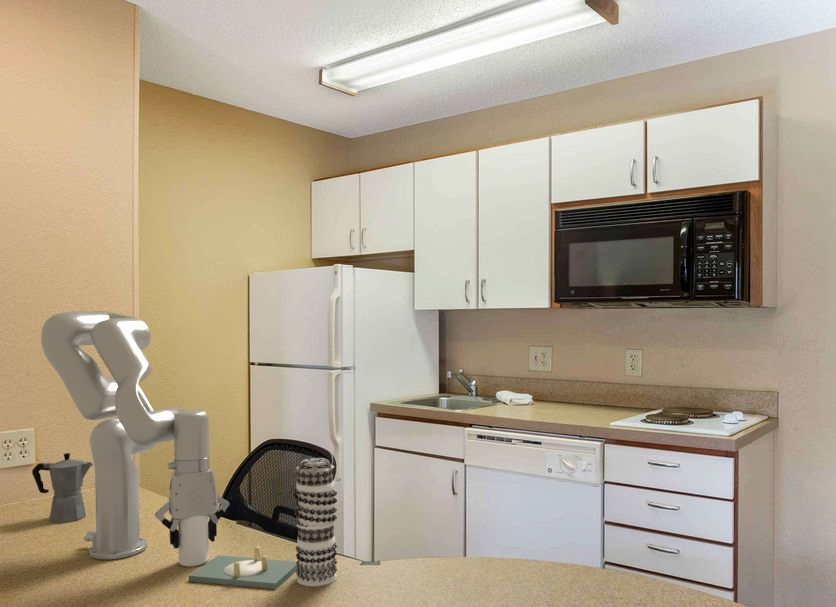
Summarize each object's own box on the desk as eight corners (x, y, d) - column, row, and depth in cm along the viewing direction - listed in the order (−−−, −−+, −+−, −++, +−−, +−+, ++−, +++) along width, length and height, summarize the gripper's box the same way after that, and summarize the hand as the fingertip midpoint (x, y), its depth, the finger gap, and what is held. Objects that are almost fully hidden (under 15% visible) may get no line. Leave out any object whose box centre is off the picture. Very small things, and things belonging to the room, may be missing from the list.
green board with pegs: (188, 581, 146) (188, 561, 146) (218, 560, 158) (218, 542, 158) (275, 589, 141) (275, 568, 141) (299, 567, 153) (299, 548, 153)
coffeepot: (97, 511, 198) (96, 448, 198) (89, 521, 189) (88, 455, 189) (38, 515, 194) (37, 451, 194) (27, 526, 185) (26, 458, 185)
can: (199, 568, 153) (198, 514, 153) (173, 566, 155) (172, 513, 155) (213, 557, 160) (213, 505, 160) (188, 556, 161) (187, 504, 161)
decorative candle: (286, 584, 144) (284, 463, 144) (308, 567, 153) (306, 454, 153) (325, 589, 141) (323, 466, 141) (345, 572, 150) (343, 456, 150)
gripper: (155, 474, 149) (156, 556, 149) (235, 463, 158) (236, 540, 158) (148, 467, 156) (150, 546, 156) (225, 457, 165) (227, 531, 165)
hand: (193, 542), depth 157 cm, fingers open, 7 cm apart
